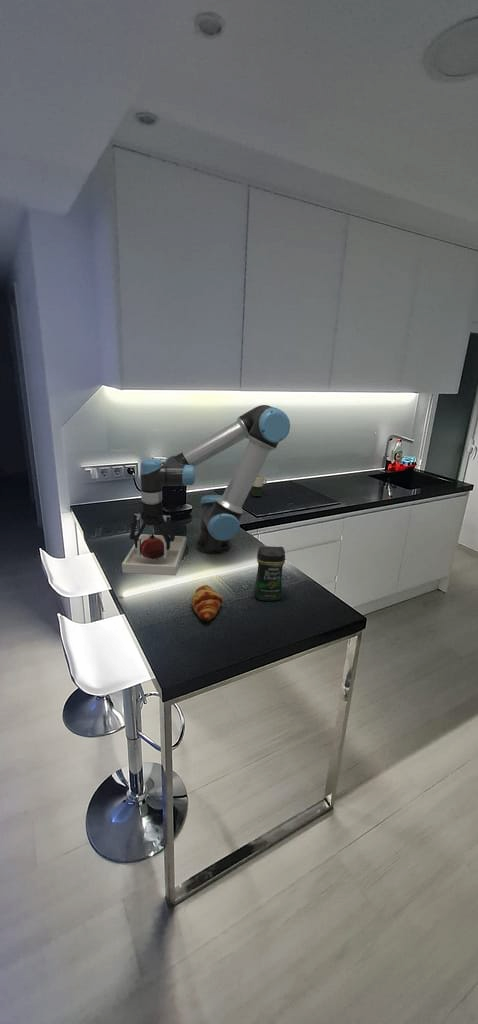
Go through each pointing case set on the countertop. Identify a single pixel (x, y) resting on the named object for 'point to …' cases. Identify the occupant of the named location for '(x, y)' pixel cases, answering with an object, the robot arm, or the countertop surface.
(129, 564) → the fruit holder
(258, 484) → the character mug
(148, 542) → the fruit
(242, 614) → the countertop surface
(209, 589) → the croissant
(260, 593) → the coffee jar
